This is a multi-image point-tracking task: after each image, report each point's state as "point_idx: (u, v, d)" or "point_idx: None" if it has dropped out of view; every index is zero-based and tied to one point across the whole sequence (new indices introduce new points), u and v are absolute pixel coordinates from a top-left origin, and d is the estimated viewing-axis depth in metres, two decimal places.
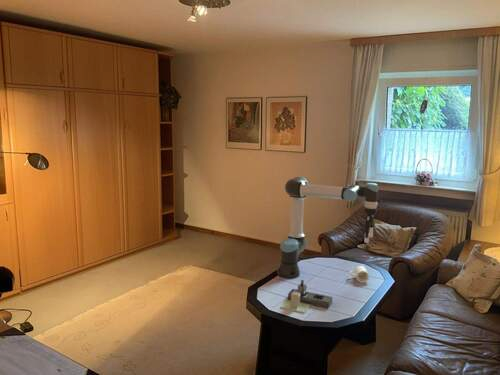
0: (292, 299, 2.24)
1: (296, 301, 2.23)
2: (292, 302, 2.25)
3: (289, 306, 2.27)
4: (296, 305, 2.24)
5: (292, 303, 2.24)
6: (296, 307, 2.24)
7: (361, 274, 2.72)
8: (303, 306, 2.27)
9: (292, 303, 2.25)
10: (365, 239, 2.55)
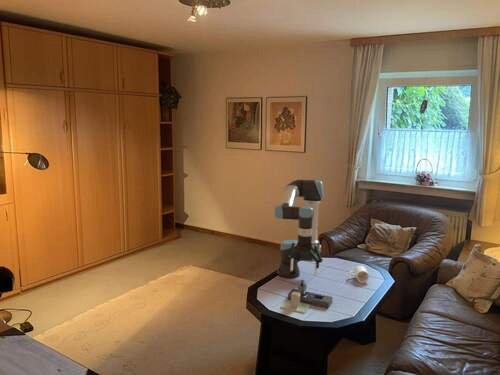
0: (292, 299, 2.24)
1: (296, 301, 2.23)
2: (292, 302, 2.25)
3: (289, 306, 2.27)
4: (296, 305, 2.24)
5: (292, 303, 2.24)
6: (296, 307, 2.24)
7: (361, 274, 2.72)
8: (303, 306, 2.27)
9: (292, 303, 2.25)
10: None
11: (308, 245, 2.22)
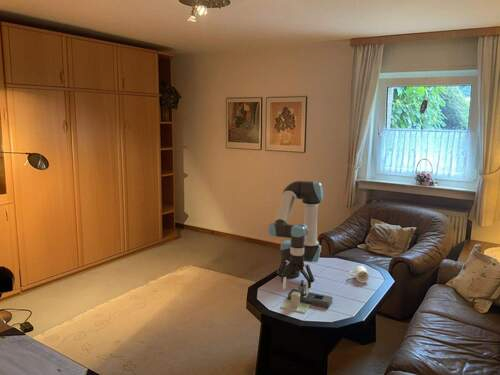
0: (292, 299, 2.24)
1: (296, 301, 2.23)
2: (292, 302, 2.25)
3: (289, 306, 2.27)
4: (296, 305, 2.24)
5: (292, 303, 2.24)
6: (296, 307, 2.24)
7: (361, 274, 2.72)
8: (303, 306, 2.27)
9: (292, 303, 2.25)
10: None
11: (300, 264, 2.20)
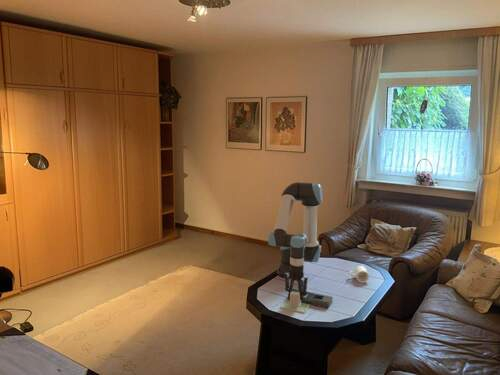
0: (292, 299, 2.24)
1: (296, 301, 2.23)
2: (292, 302, 2.25)
3: (289, 306, 2.27)
4: (296, 305, 2.24)
5: (292, 303, 2.25)
6: (296, 307, 2.24)
7: (361, 274, 2.72)
8: (303, 306, 2.27)
9: (292, 303, 2.25)
10: None
11: (300, 274, 2.21)
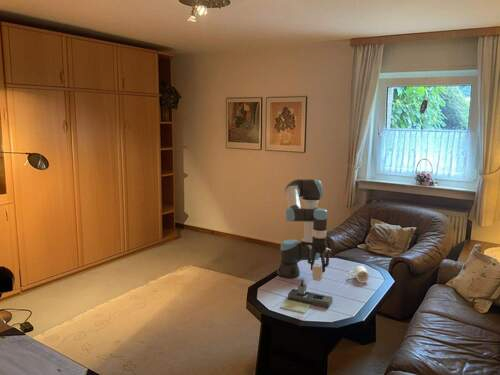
0: (314, 271, 2.27)
1: (318, 273, 2.26)
2: (314, 274, 2.27)
3: (289, 306, 2.27)
4: (318, 277, 2.26)
5: (315, 275, 2.27)
6: (318, 279, 2.27)
7: (361, 274, 2.72)
8: (303, 306, 2.27)
9: (315, 275, 2.27)
10: None
11: (323, 246, 2.24)
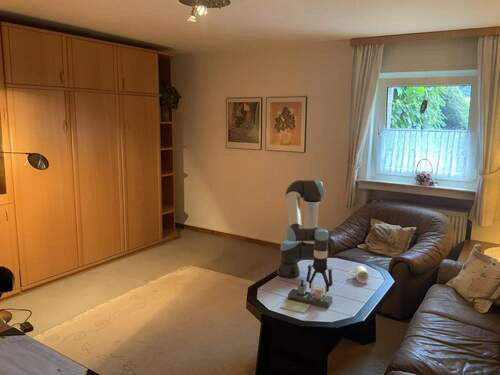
0: (315, 294, 2.30)
1: (319, 296, 2.29)
2: (315, 297, 2.30)
3: (289, 306, 2.27)
4: None
5: (316, 298, 2.30)
6: None
7: (361, 274, 2.72)
8: (303, 306, 2.27)
9: (316, 298, 2.30)
10: None
11: (323, 266, 2.26)
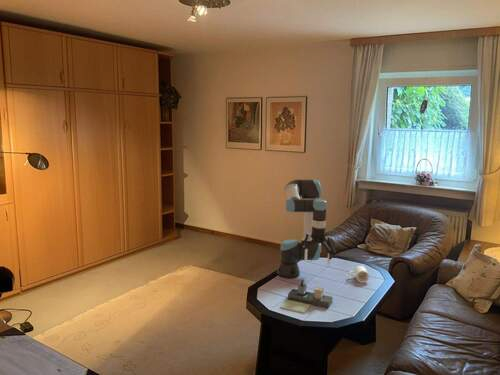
0: (315, 294, 2.30)
1: (319, 296, 2.29)
2: (315, 297, 2.30)
3: (289, 306, 2.27)
4: None
5: (316, 298, 2.30)
6: None
7: (361, 274, 2.72)
8: (303, 306, 2.27)
9: (316, 298, 2.30)
10: None
11: (321, 237, 2.29)
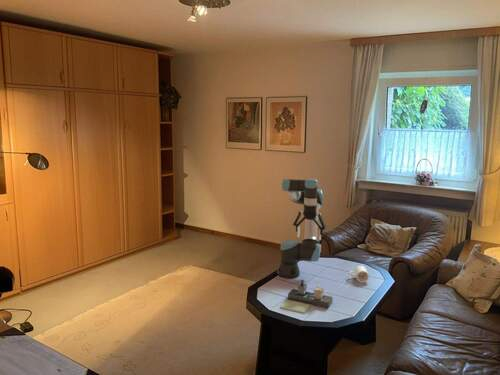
0: (315, 294, 2.30)
1: (319, 296, 2.29)
2: (315, 297, 2.30)
3: (289, 306, 2.27)
4: None
5: (316, 298, 2.30)
6: None
7: (361, 274, 2.72)
8: (303, 306, 2.27)
9: (316, 298, 2.30)
10: None
11: (313, 214, 2.44)
